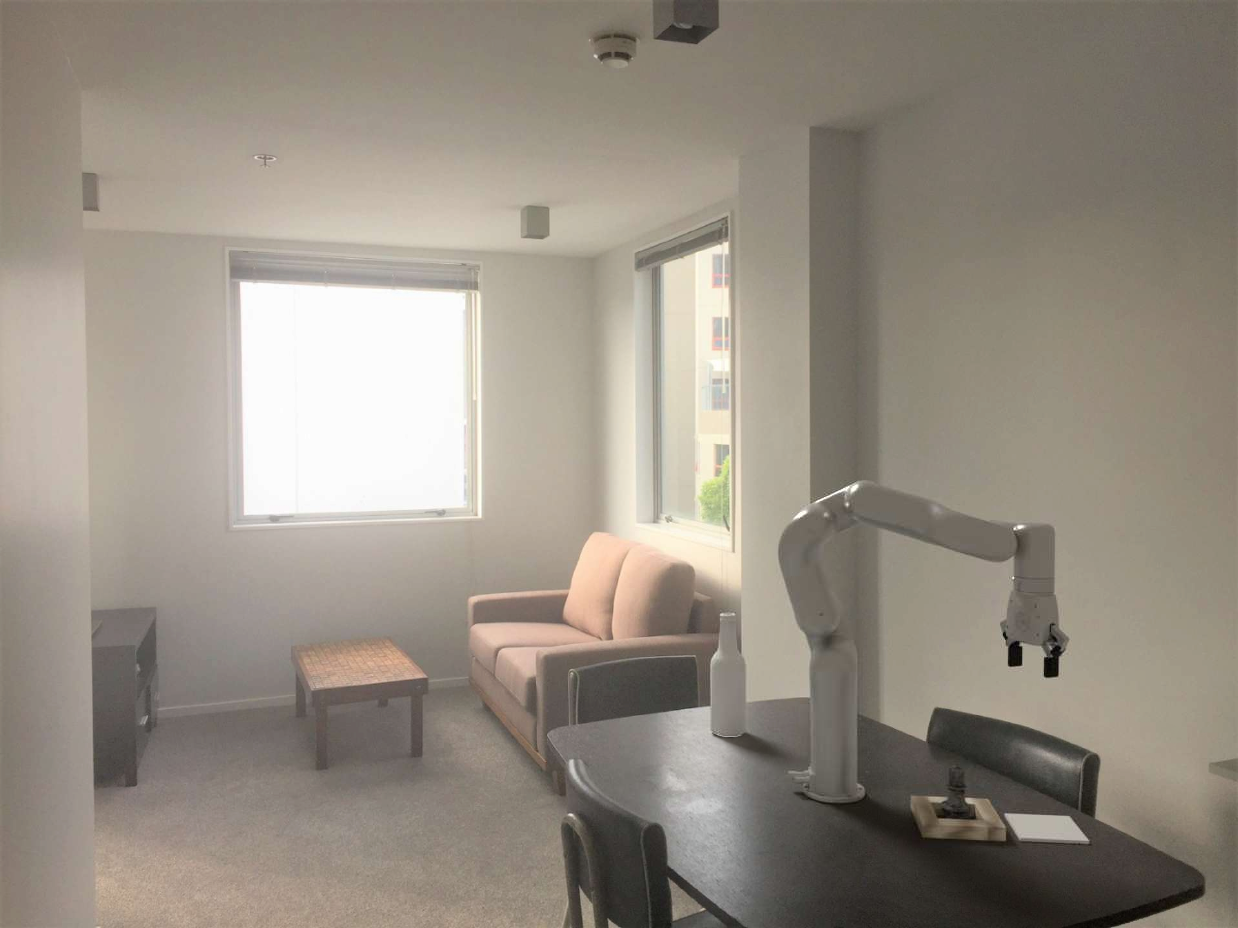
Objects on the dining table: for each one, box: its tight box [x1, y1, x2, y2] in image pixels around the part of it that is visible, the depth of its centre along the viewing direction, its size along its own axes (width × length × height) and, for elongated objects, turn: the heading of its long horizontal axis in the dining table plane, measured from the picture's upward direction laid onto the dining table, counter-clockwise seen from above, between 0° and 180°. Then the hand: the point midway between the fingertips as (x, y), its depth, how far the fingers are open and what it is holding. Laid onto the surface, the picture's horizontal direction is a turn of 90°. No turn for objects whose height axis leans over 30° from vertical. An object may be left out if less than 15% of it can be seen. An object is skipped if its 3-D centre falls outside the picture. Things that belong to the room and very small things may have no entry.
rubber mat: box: [1004, 813, 1090, 845], centre depth 191 cm, size 12×12×1 cm
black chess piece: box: [940, 761, 973, 820], centre depth 194 cm, size 6×6×12 cm
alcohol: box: [709, 612, 747, 736], centre depth 253 cm, size 9×9×30 cm
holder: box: [910, 795, 1007, 842], centre depth 194 cm, size 15×15×2 cm
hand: (1032, 671), depth 201 cm, fingers open, 9 cm apart
